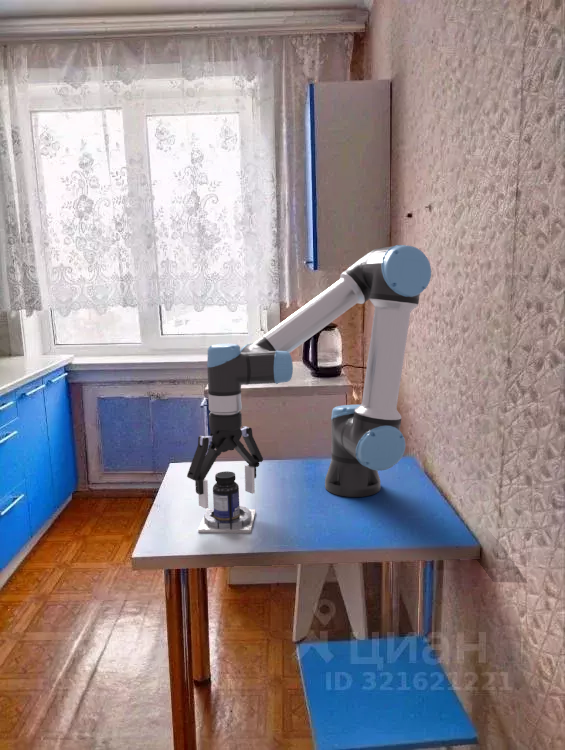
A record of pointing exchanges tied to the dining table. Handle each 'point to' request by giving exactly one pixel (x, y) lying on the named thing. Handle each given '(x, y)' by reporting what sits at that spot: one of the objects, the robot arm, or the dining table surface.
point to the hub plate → (228, 522)
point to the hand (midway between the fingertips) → (227, 499)
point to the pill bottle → (226, 497)
